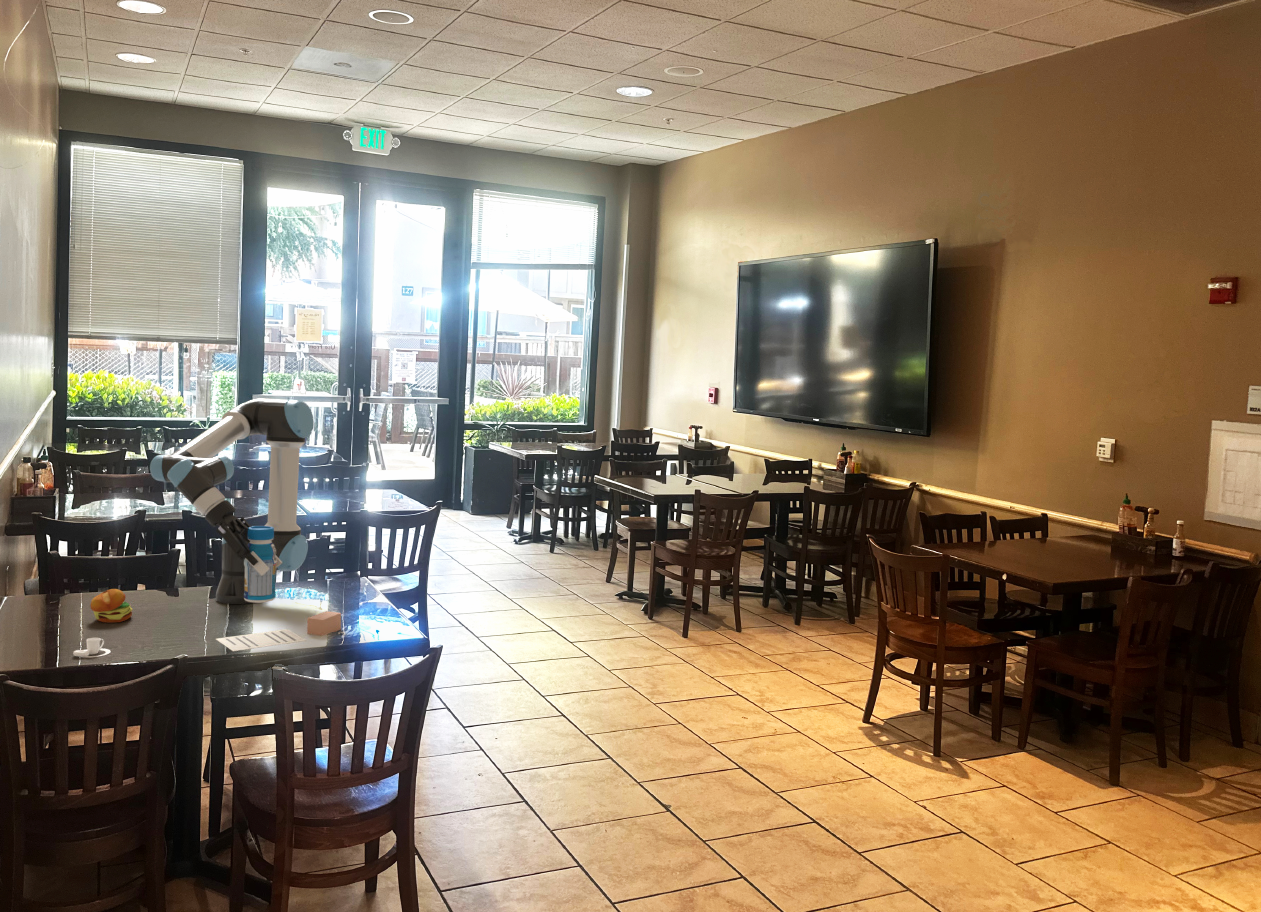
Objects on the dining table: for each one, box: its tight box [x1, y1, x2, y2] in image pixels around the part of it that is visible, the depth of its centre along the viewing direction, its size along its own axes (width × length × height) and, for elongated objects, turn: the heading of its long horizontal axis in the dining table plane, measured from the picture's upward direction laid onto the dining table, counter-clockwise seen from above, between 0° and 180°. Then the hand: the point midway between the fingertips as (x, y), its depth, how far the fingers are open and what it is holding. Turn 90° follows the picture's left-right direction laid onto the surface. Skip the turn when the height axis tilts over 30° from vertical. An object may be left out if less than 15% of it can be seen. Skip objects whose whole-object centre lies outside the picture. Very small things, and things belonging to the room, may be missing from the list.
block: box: [306, 610, 342, 637], centre depth 292 cm, size 5×5×9 cm
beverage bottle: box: [244, 525, 277, 604], centre depth 277 cm, size 8×8×20 cm
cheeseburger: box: [89, 588, 134, 624], centre depth 294 cm, size 10×11×10 cm
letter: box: [215, 628, 307, 652], centre depth 280 cm, size 14×20×1 cm
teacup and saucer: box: [73, 637, 111, 658], centre depth 262 cm, size 9×8×4 cm
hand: (272, 569), depth 278 cm, fingers closed on beverage bottle, 8 cm apart
